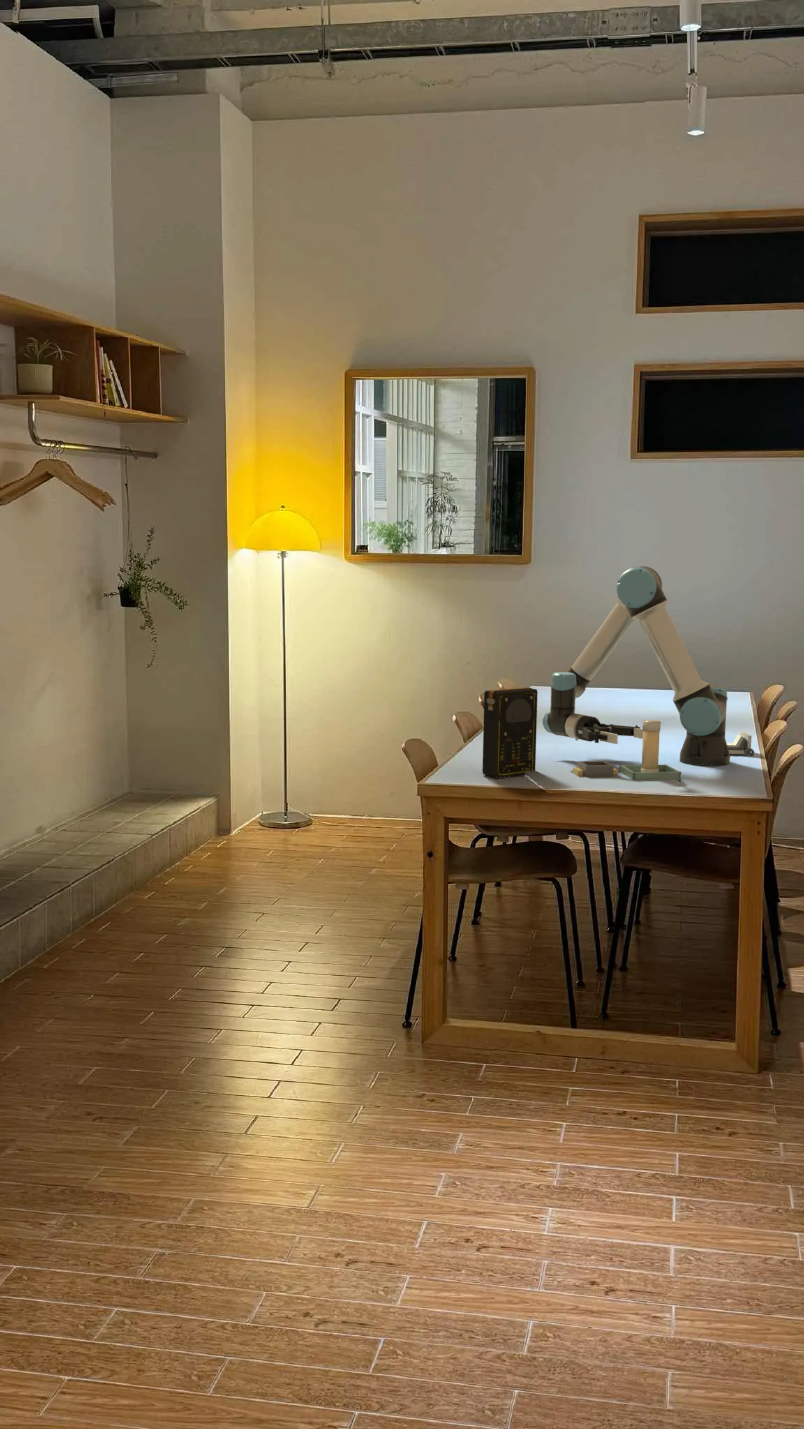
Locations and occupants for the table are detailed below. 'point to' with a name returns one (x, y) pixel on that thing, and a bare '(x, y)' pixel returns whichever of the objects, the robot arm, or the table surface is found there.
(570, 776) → the table surface
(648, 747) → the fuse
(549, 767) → the table surface
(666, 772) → the tray
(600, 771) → the fuse holder
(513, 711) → the voltmeter
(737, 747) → the phone holder
